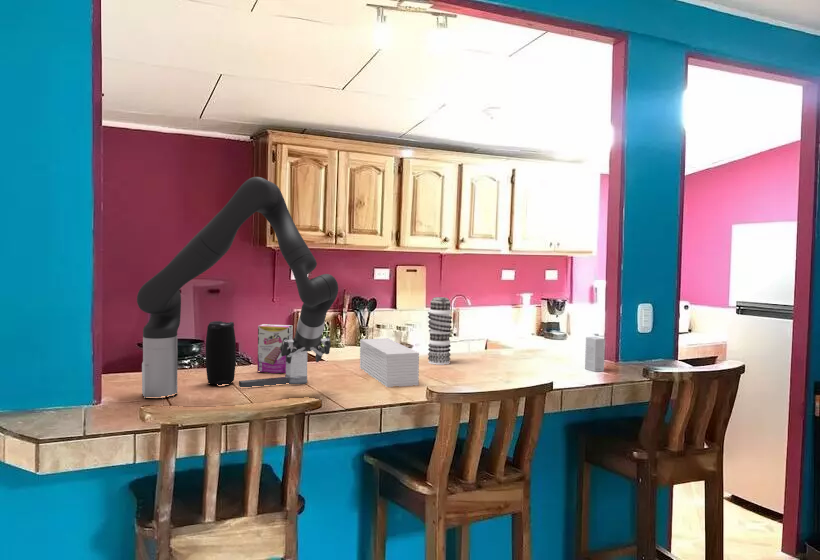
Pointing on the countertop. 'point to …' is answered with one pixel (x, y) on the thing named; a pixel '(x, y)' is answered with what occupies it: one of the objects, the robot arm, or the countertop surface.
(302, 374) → the brushed aluminum block
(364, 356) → the stack of papers
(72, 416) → the countertop surface
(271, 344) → the candy bar box
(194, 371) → the countertop surface
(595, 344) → the skincare box
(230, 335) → the portable speaker
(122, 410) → the countertop surface
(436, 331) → the decorative candle
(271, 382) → the ratchet
